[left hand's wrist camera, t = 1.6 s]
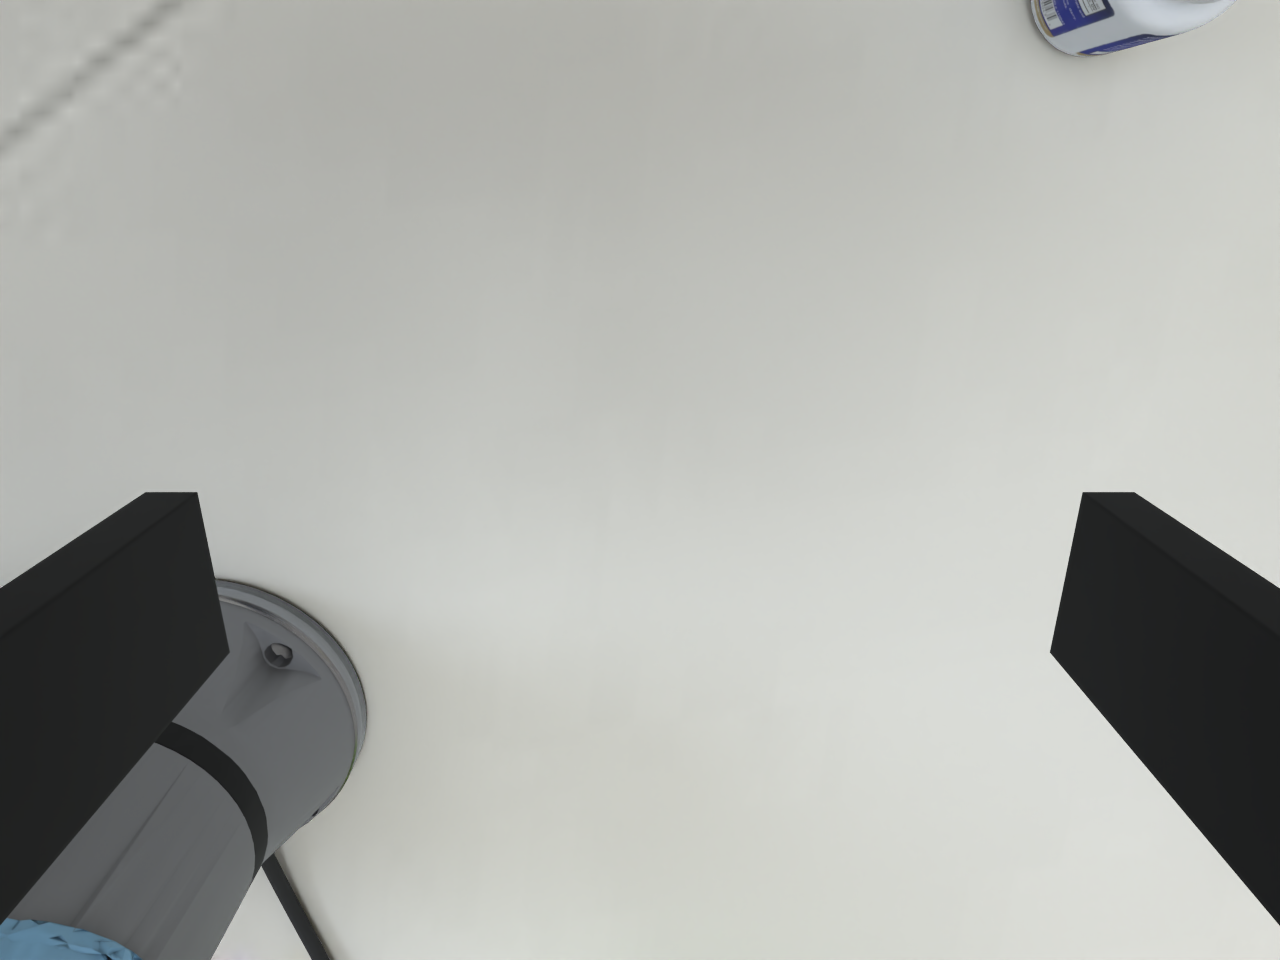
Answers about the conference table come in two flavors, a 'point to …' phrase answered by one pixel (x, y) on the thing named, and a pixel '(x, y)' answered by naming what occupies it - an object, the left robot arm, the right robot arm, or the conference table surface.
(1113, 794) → the conference table surface
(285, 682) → the right robot arm
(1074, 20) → the pill bottle
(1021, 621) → the conference table surface
